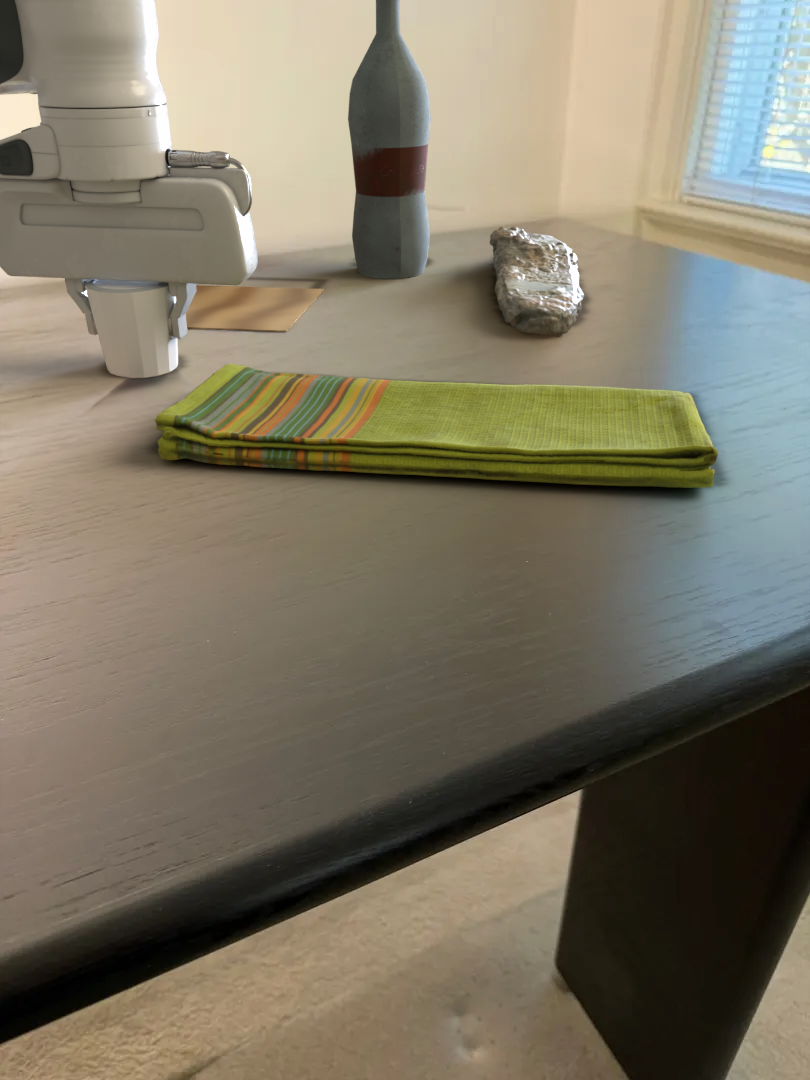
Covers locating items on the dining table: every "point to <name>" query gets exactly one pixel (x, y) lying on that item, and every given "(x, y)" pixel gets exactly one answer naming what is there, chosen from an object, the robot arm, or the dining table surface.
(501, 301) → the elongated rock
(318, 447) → the dish towel
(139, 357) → the white cup
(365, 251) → the bottle
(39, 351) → the dining table surface
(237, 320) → the cork mat
